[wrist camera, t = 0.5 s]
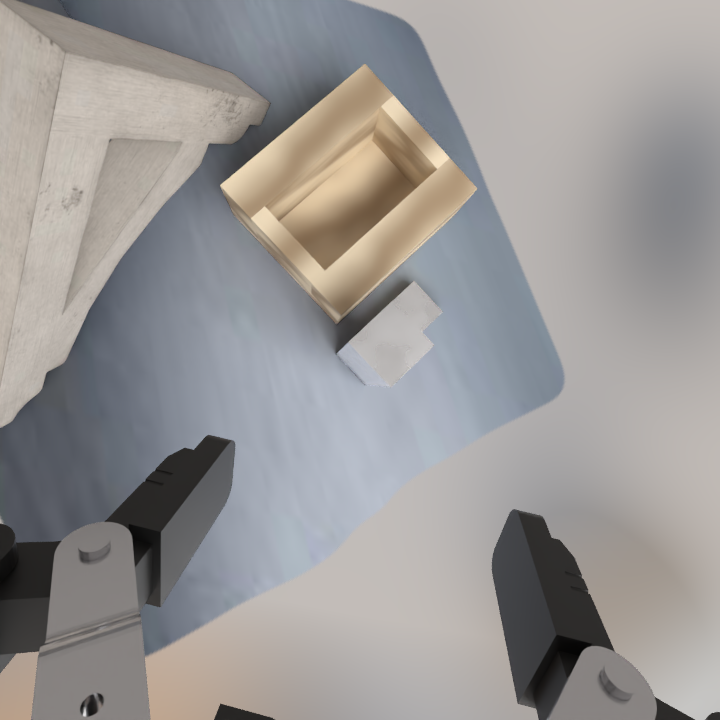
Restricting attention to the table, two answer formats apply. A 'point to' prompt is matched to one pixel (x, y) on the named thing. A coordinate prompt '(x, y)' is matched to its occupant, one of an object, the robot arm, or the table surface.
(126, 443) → the table surface
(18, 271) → the grey letter a
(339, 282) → the beech well block
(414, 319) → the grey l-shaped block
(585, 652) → the robot arm
